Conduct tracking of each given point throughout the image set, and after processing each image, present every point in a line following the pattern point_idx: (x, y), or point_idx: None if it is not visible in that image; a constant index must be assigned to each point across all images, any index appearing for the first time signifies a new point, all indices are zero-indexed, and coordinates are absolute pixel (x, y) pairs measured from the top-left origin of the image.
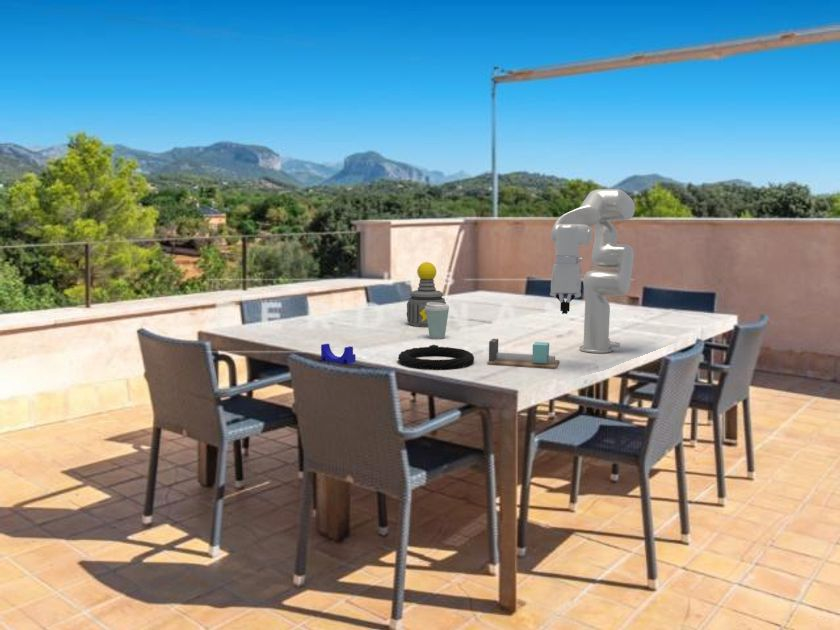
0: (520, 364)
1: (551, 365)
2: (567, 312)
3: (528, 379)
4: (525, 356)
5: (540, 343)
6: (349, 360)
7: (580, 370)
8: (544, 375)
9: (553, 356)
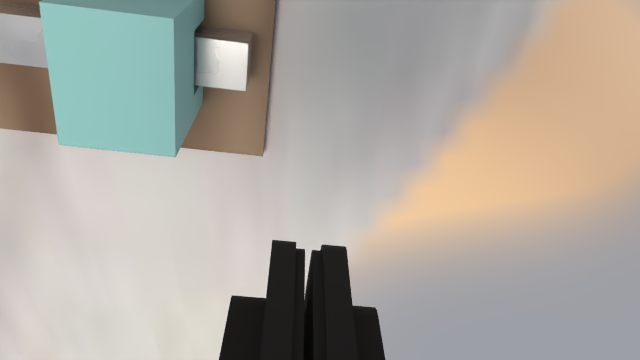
0: (49, 131)
1: (236, 124)
2: (343, 259)
3: (162, 355)
4: (38, 64)
5: (106, 83)
6: None
7: (401, 154)
8: (219, 286)
9: (236, 64)
